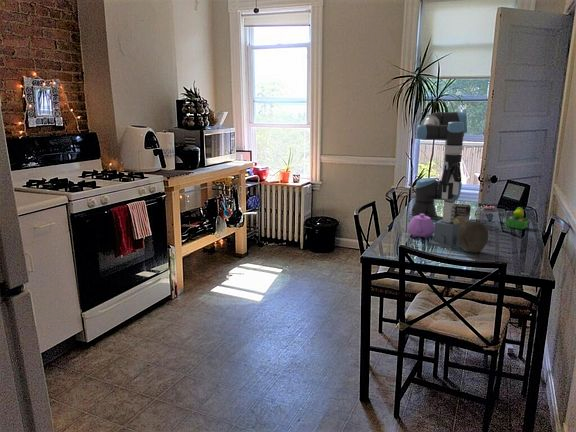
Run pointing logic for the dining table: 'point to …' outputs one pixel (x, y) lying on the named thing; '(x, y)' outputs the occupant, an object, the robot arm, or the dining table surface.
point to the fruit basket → (517, 219)
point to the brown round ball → (472, 236)
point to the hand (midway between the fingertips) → (449, 196)
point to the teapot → (421, 226)
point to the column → (448, 211)
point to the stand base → (446, 234)
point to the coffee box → (462, 213)
